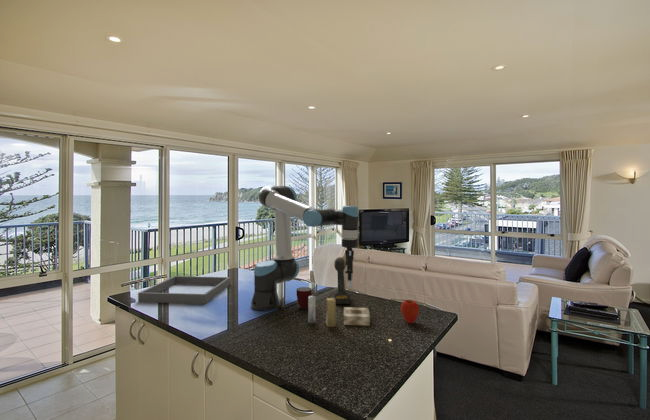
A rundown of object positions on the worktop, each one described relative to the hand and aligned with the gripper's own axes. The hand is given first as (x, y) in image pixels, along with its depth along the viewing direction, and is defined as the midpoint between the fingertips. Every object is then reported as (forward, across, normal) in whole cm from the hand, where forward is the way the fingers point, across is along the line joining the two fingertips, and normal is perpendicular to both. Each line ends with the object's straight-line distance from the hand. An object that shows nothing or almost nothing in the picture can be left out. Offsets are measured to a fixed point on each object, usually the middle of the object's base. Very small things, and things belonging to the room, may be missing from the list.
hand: (348, 283), depth 153 cm
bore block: (+18, 0, -4) cm, 18 cm away
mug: (+18, +15, +22) cm, 32 cm away
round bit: (+18, -4, +17) cm, 25 cm away
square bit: (+18, -7, +8) cm, 21 cm away
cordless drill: (+18, +29, +2) cm, 35 cm away
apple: (+18, -2, -29) cm, 34 cm away
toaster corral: (+19, +37, +95) cm, 104 cm away
